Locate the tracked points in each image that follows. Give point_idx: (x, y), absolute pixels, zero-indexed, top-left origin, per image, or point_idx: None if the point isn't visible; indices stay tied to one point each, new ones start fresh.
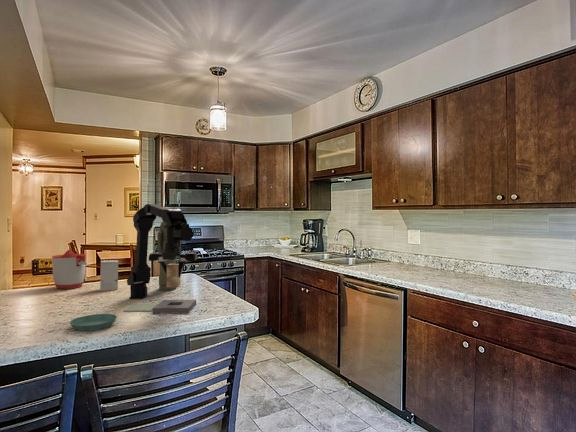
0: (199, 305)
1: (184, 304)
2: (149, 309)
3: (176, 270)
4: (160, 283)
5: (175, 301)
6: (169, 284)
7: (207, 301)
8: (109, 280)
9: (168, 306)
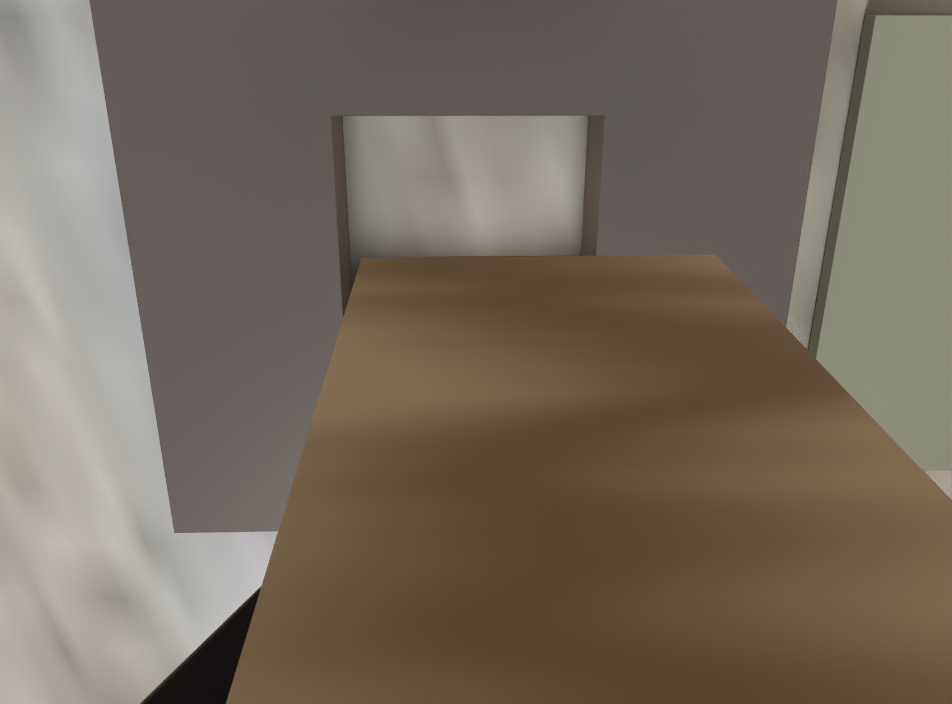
0: (111, 416)
1: (264, 180)
2: (912, 82)
3: (325, 643)
4: None
5: None
6: (643, 281)
7: (78, 640)
8: None
9: (547, 17)
